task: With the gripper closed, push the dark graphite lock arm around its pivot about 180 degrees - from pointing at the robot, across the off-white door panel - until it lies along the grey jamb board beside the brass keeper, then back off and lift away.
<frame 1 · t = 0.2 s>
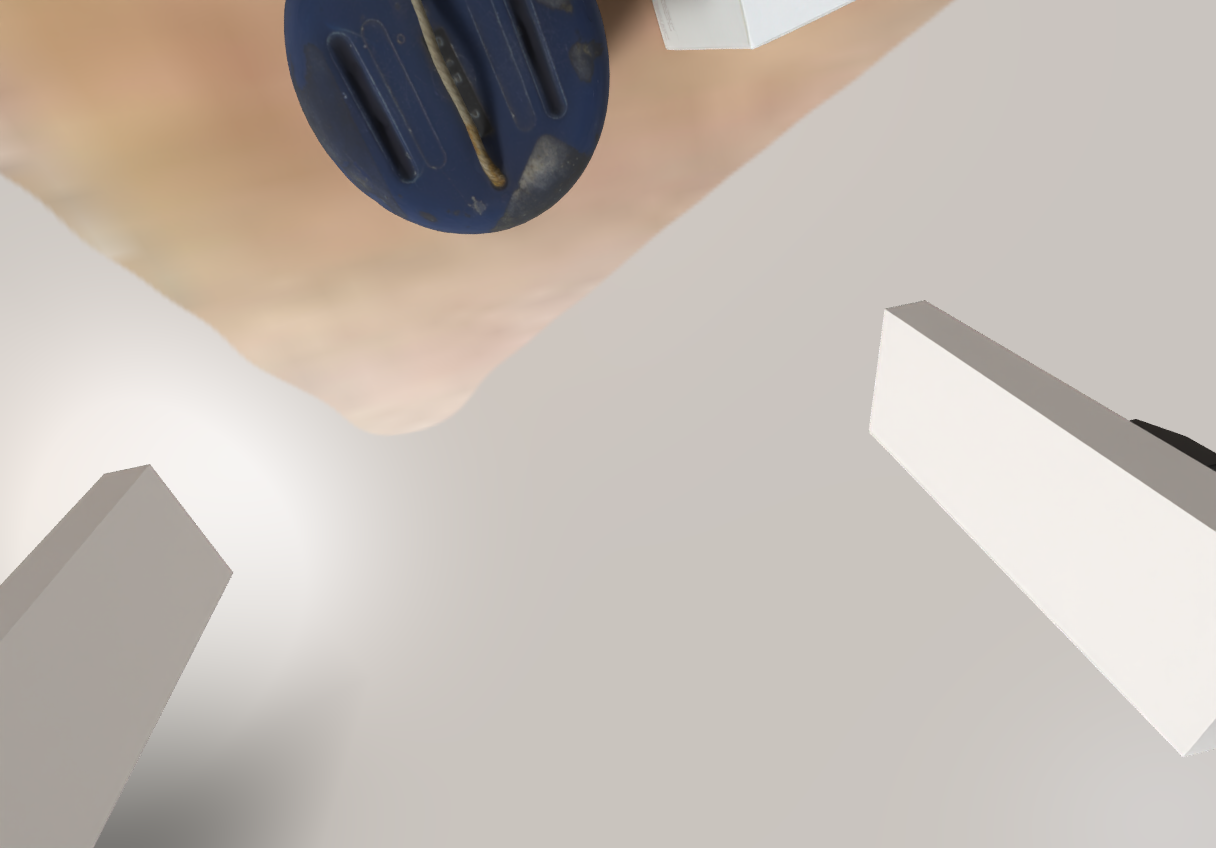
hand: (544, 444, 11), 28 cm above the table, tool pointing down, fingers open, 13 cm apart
canister: (475, 63, 31), on the table
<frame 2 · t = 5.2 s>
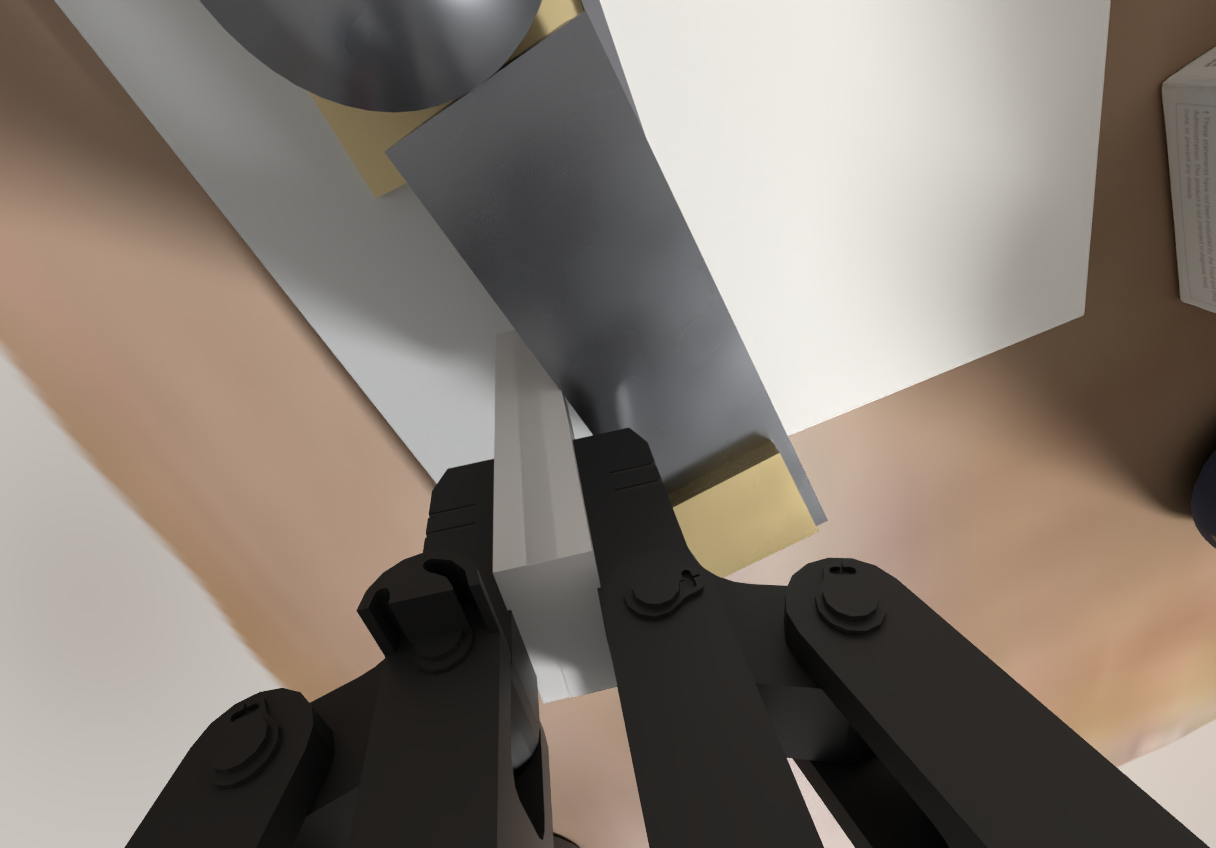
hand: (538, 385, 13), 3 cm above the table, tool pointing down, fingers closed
lock arm: (589, 249, 10), point 4 cm above the table, hinge at -83.0°, touching gripper
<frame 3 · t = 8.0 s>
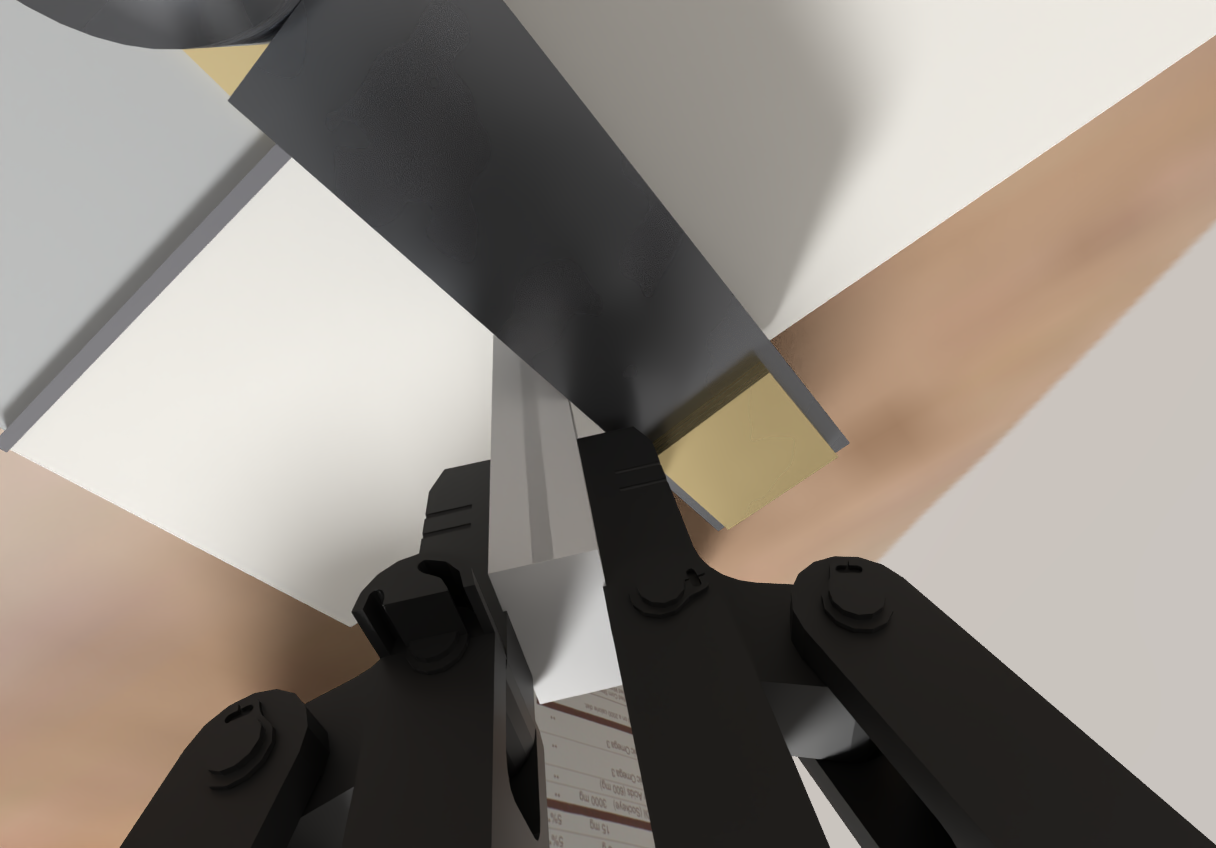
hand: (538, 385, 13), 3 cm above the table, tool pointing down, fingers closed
lock arm: (515, 180, 9), point 4 cm above the table, hinge at 3.8°, touching gripper
supplement box: (542, 640, 23), on the table
door board: (436, 63, 11), on the table
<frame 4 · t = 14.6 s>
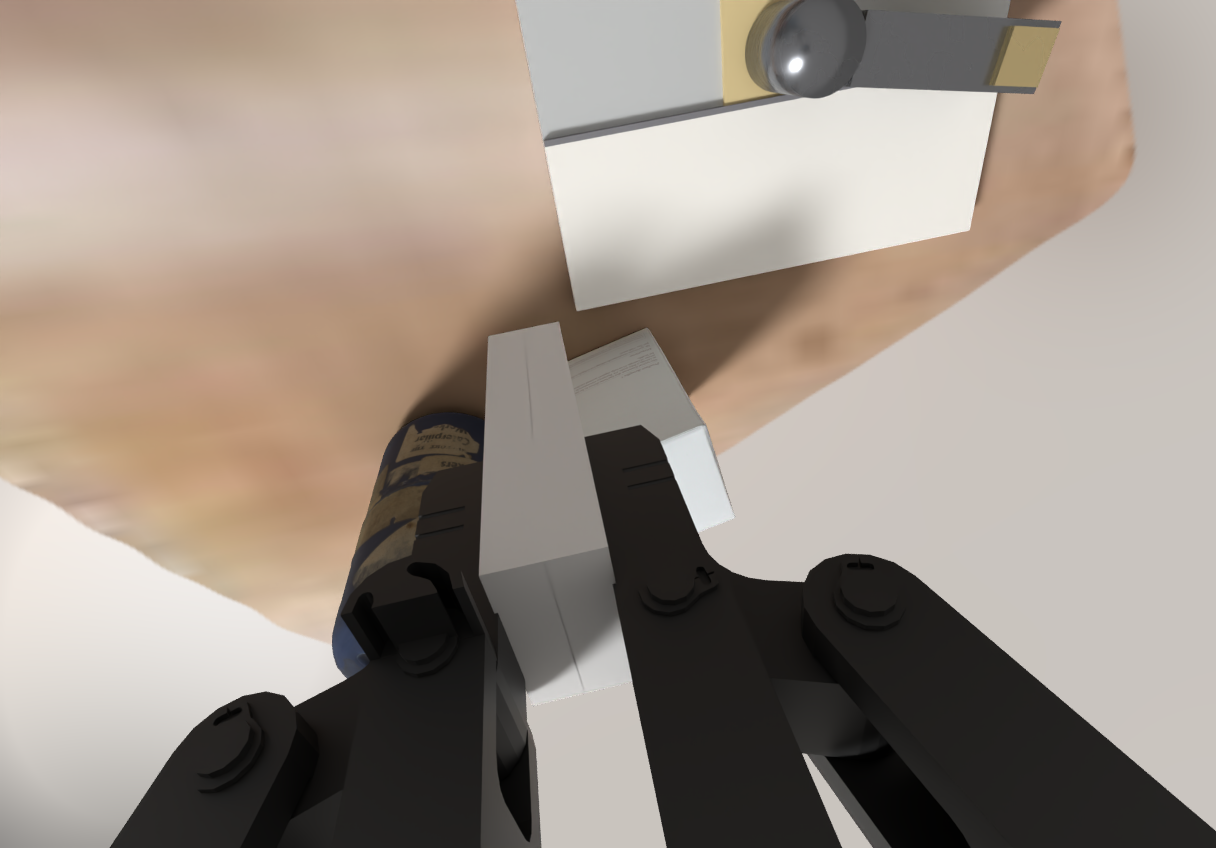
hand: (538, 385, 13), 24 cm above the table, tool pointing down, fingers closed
lock arm: (895, 52, 29), point 4 cm above the table, hinge at 79.2°
supplement box: (618, 385, 42), on the table
door board: (767, 109, 33), on the table
canister: (453, 456, 43), on the table
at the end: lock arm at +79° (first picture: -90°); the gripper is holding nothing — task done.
